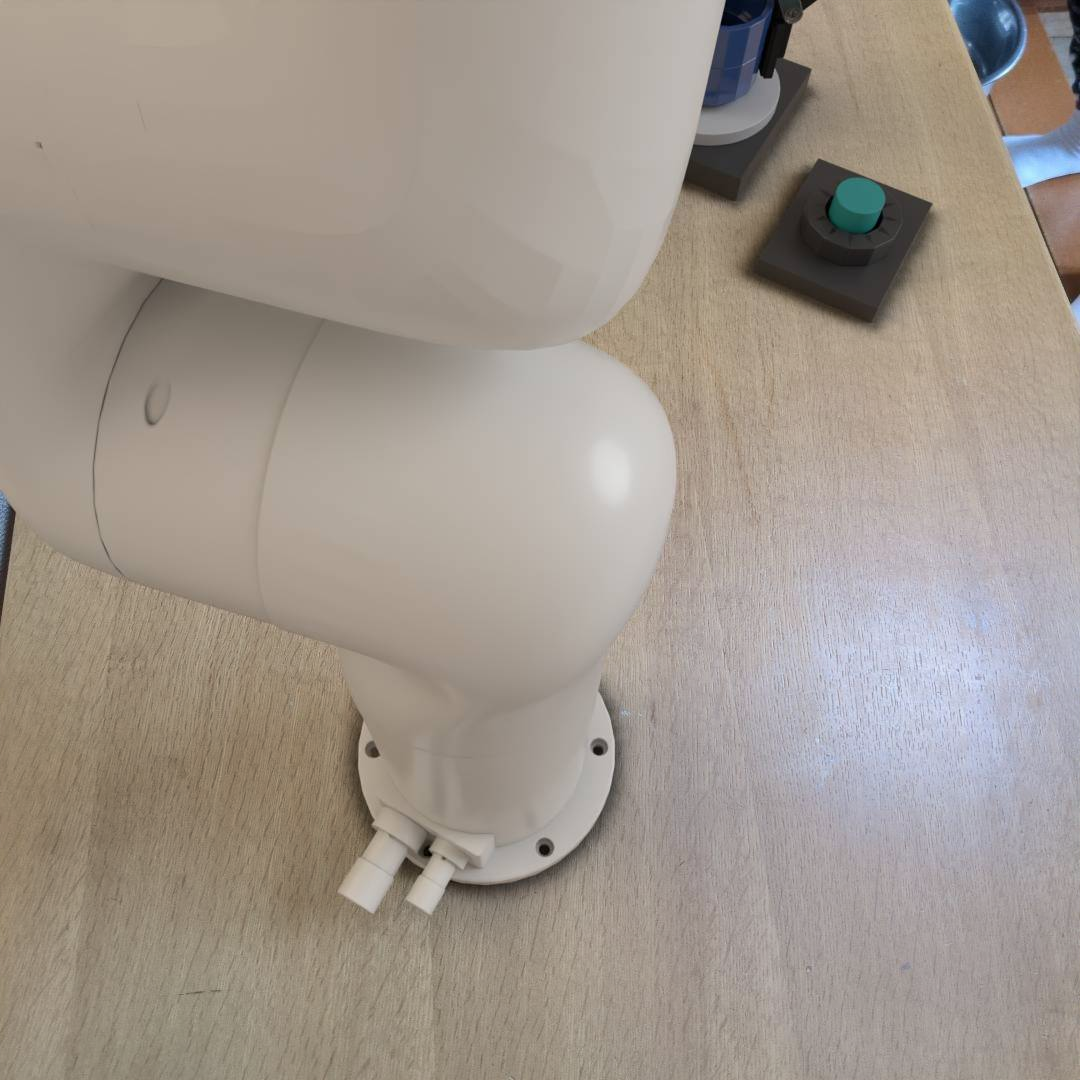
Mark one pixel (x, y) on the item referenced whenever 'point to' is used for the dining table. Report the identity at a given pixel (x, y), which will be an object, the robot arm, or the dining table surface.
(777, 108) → the scale
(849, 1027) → the dining table surface
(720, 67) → the blue cup
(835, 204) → the button
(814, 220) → the panel
